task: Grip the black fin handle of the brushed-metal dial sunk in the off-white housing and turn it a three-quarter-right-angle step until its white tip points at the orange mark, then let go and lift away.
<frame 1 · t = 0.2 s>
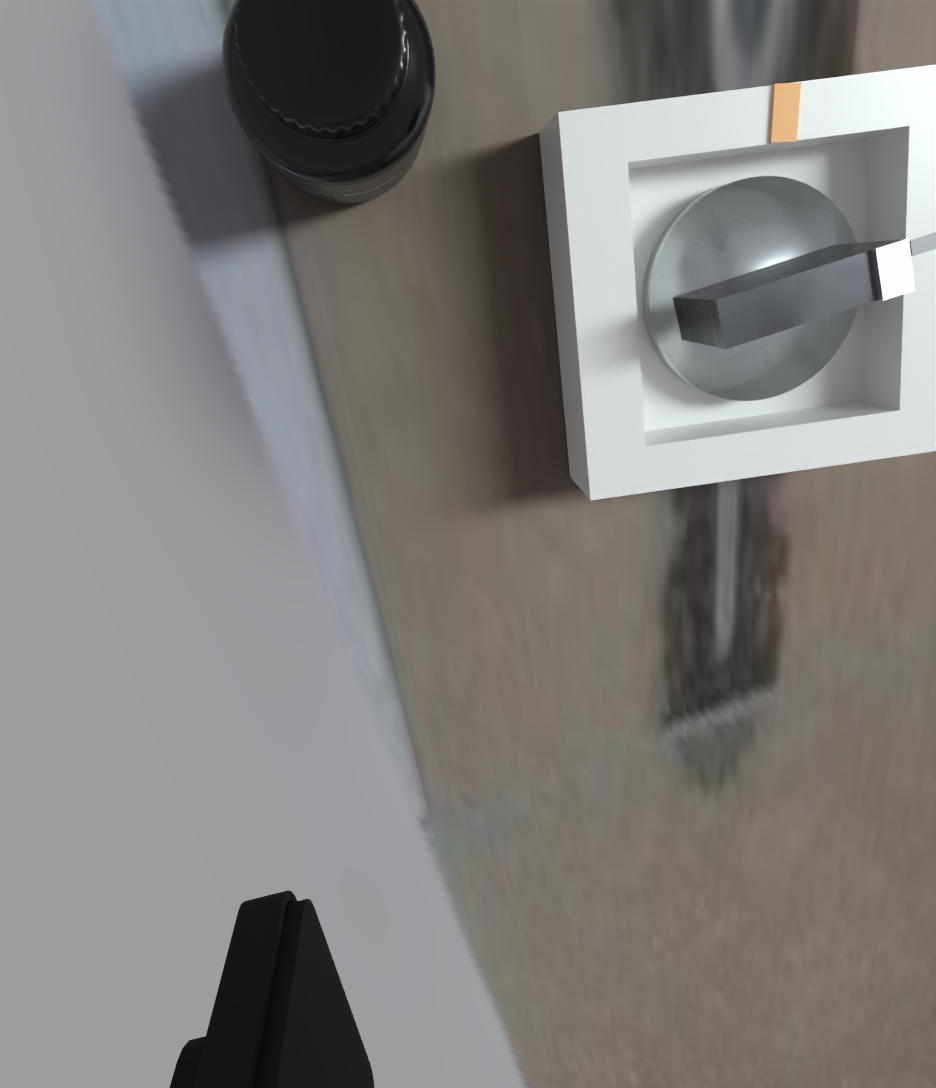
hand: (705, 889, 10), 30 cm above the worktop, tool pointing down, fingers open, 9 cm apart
supplement bottle: (344, 117, 35), on the worktop
dial: (777, 293, 33), point 5 cm above the worktop, hinge at 0.0°
dial housing: (729, 291, 38), on the worktop
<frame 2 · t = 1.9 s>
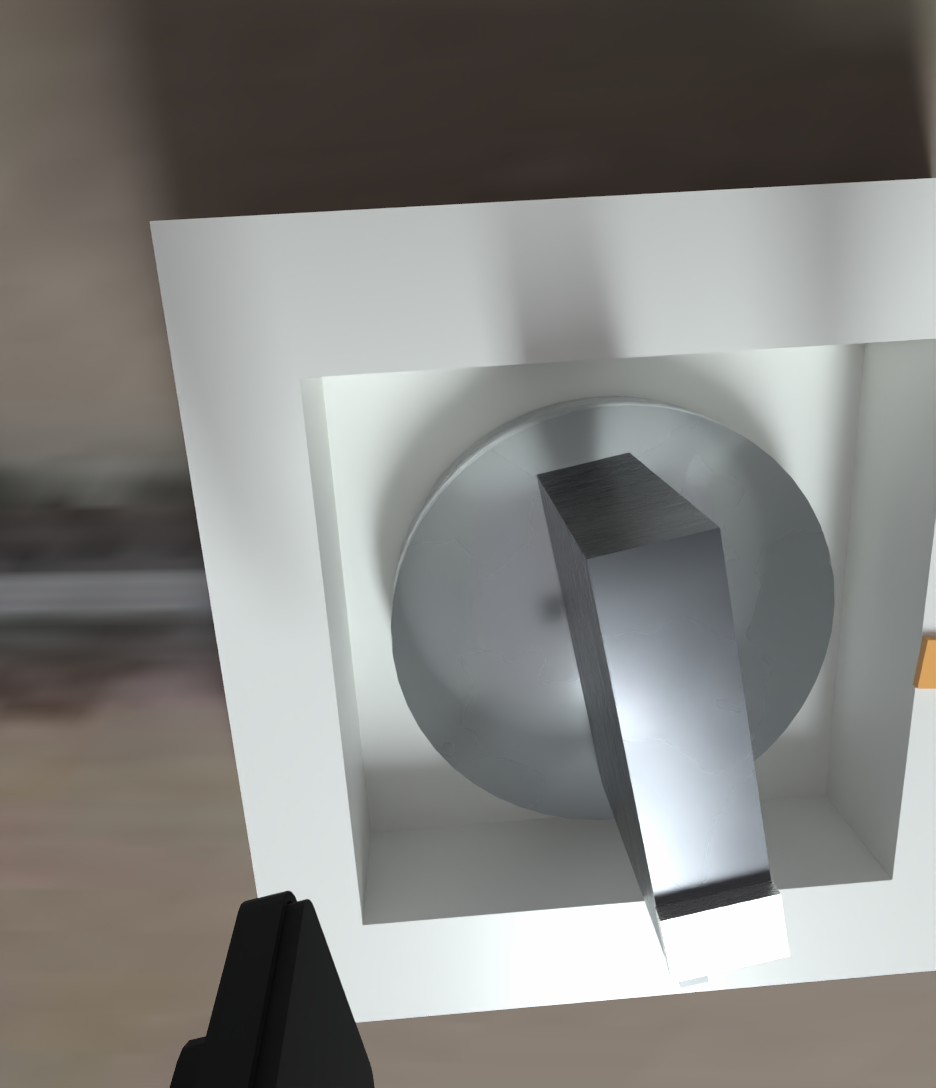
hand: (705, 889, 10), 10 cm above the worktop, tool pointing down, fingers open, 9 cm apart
dial: (639, 672, 15), point 5 cm above the worktop, hinge at 0.0°
dial housing: (585, 576, 20), on the worktop
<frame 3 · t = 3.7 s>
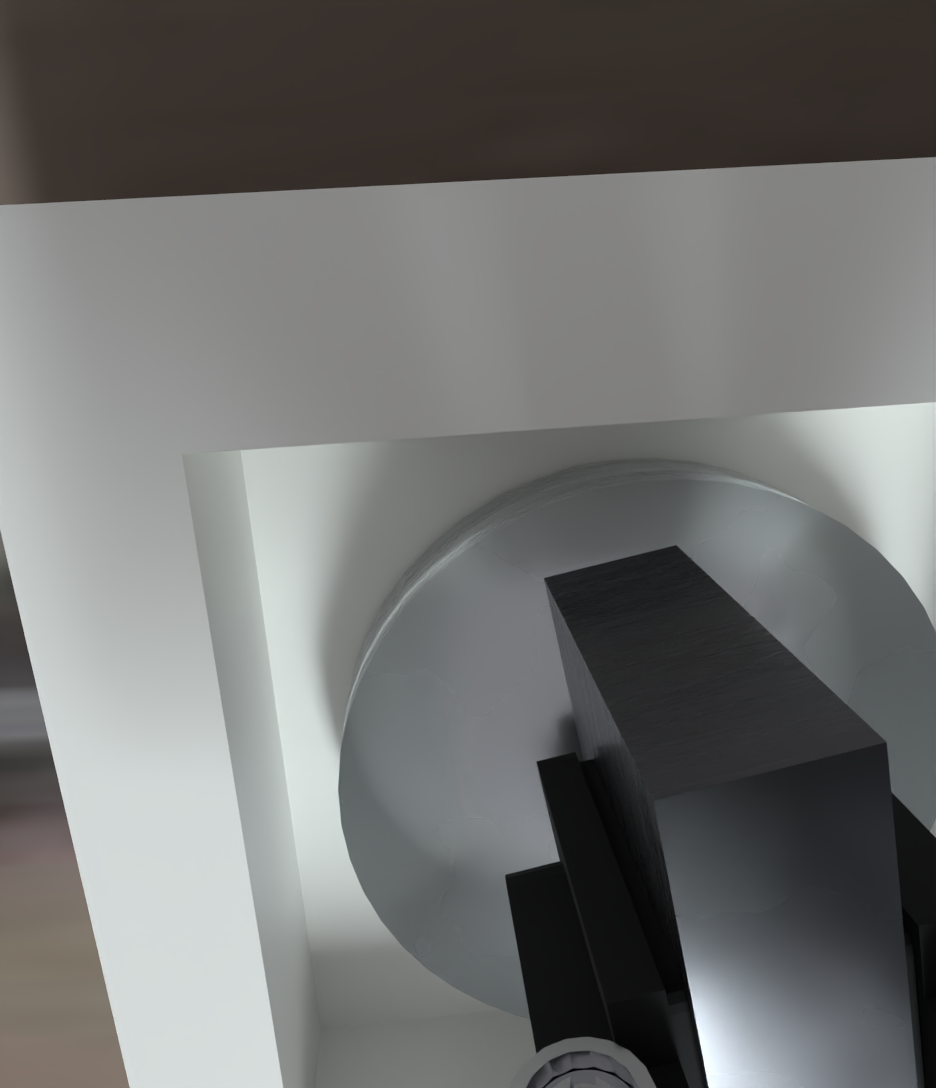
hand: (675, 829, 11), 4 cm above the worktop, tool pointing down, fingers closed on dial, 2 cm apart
dial: (698, 874, 10), point 5 cm above the worktop, hinge at 0.0°, touching gripper
dial housing: (603, 686, 15), on the worktop
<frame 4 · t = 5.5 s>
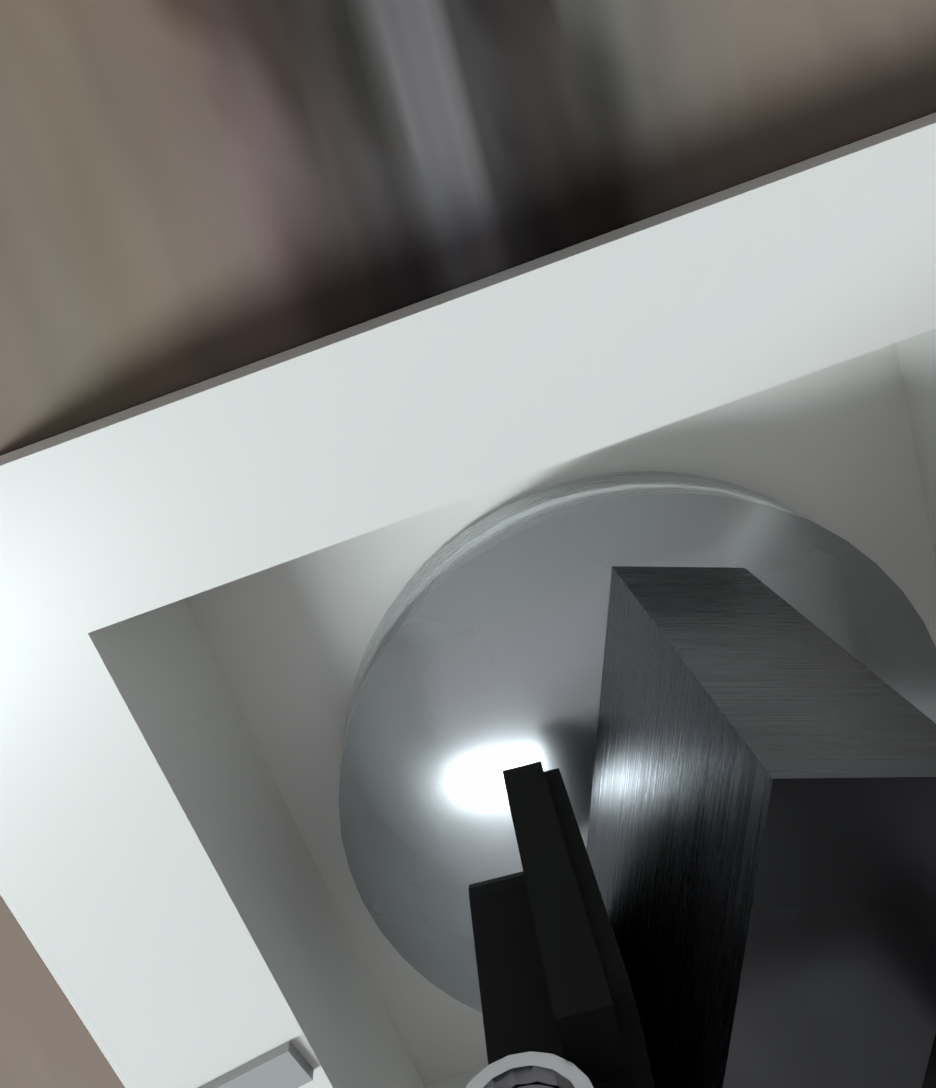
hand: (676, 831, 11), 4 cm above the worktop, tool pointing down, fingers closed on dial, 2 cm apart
dial: (697, 888, 10), point 5 cm above the worktop, hinge at 58.7°, touching gripper
dial housing: (602, 696, 15), on the worktop
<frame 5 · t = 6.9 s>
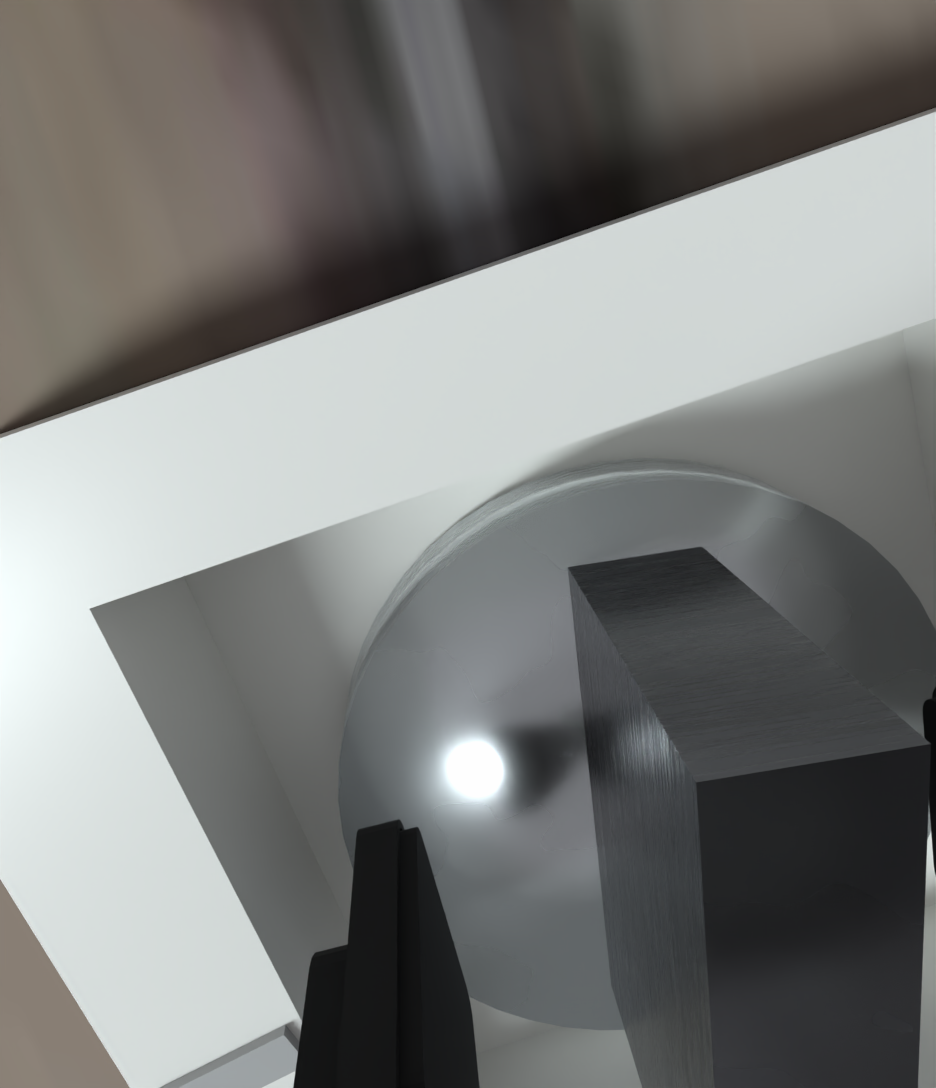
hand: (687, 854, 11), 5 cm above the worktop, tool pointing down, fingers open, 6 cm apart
dial: (698, 875, 10), point 5 cm above the worktop, hinge at 69.3°
dial housing: (603, 686, 15), on the worktop
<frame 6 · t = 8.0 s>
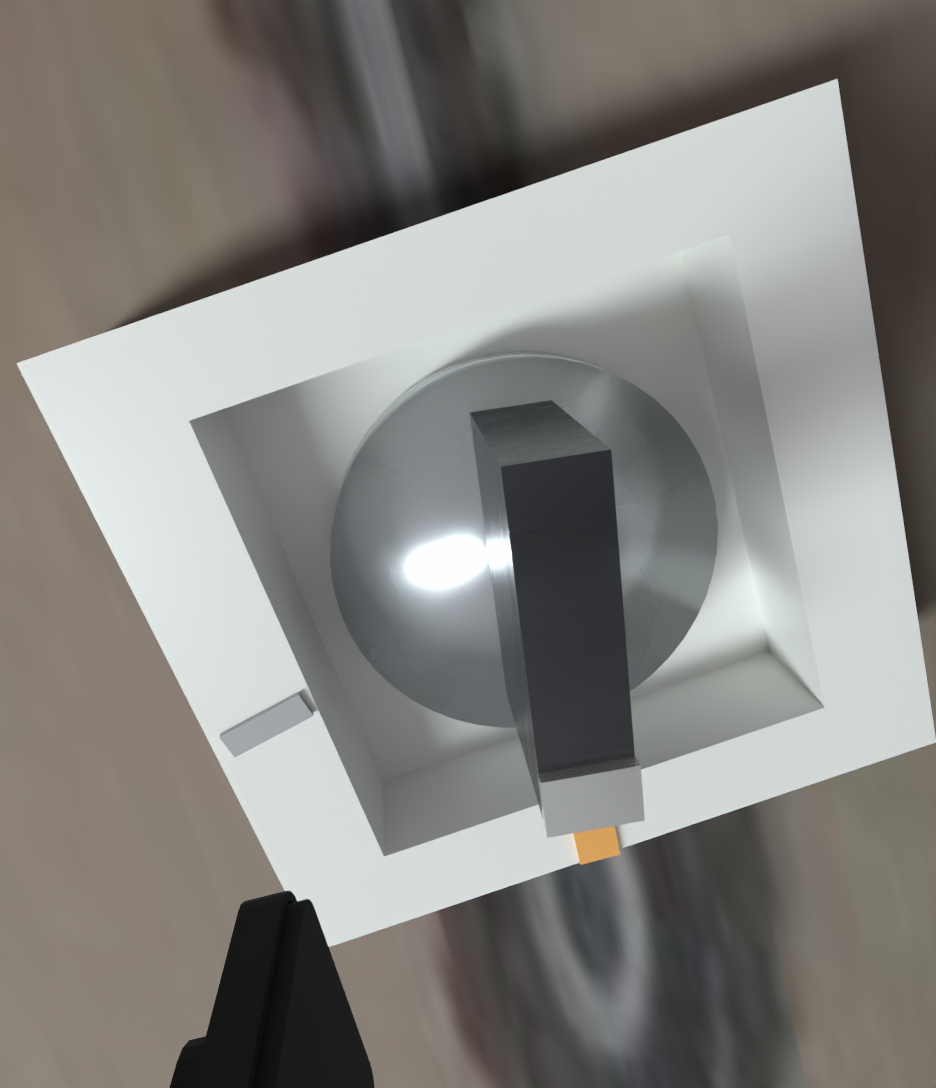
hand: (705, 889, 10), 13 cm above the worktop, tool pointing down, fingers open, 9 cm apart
dial: (543, 587, 17), point 5 cm above the worktop, hinge at 69.5°
dial housing: (508, 517, 22), on the worktop
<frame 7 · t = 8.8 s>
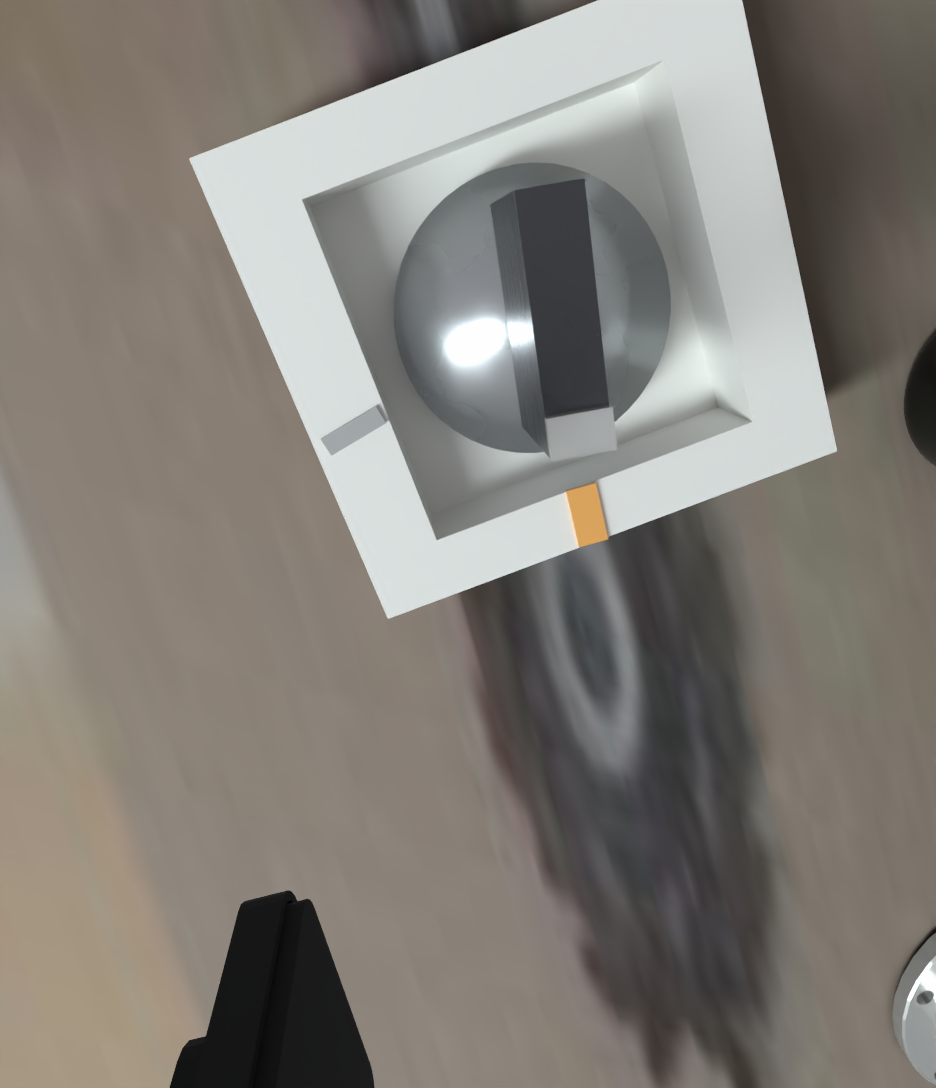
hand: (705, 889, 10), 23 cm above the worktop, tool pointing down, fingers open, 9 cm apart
dial: (545, 319, 25), point 5 cm above the worktop, hinge at 69.5°
dial housing: (519, 310, 30), on the worktop
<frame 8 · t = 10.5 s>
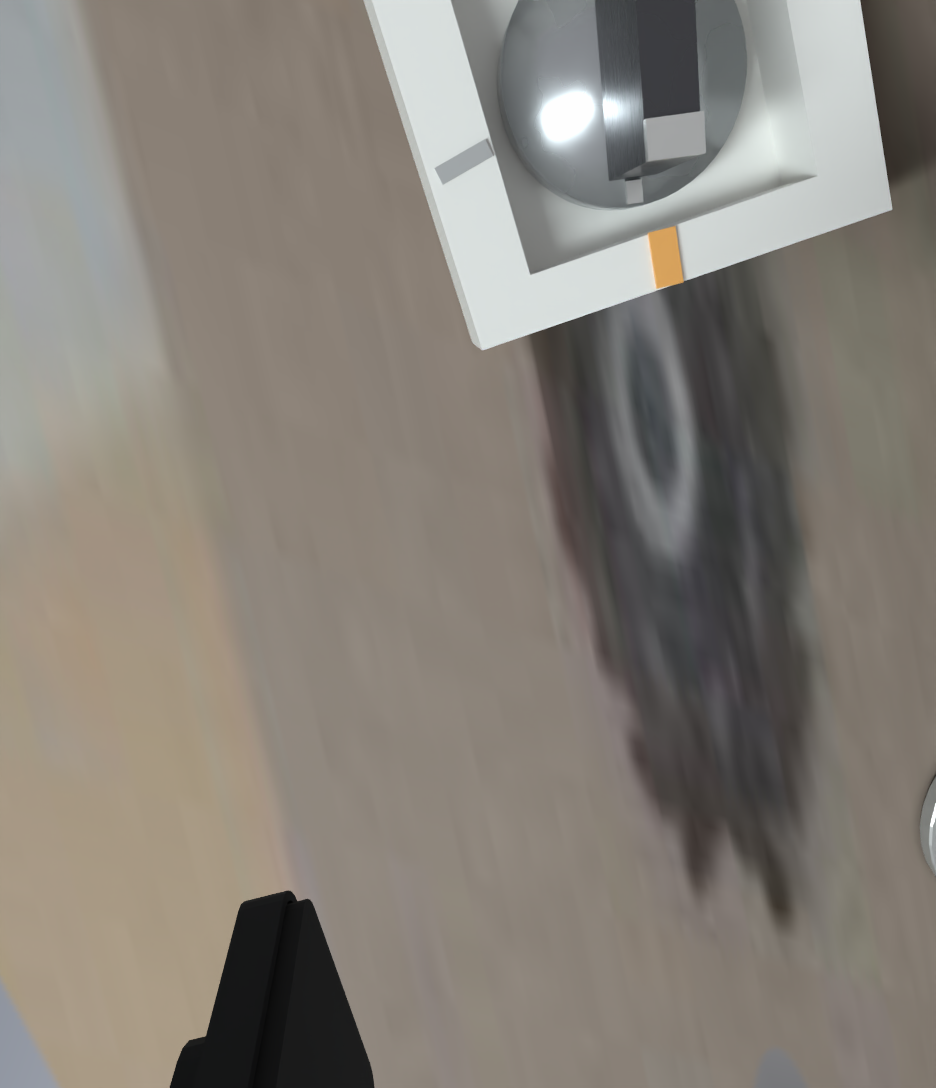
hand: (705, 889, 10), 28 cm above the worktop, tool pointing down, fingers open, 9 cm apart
dial: (639, 59, 28), point 5 cm above the worktop, hinge at 69.5°
dial housing: (605, 92, 33), on the worktop
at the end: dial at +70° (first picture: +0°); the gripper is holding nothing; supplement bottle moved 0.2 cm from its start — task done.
